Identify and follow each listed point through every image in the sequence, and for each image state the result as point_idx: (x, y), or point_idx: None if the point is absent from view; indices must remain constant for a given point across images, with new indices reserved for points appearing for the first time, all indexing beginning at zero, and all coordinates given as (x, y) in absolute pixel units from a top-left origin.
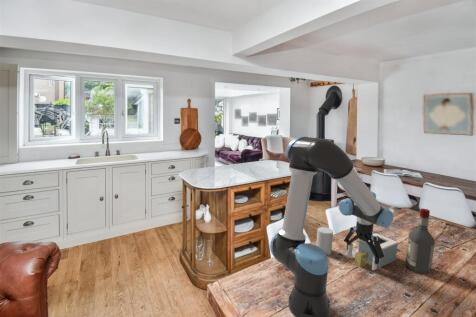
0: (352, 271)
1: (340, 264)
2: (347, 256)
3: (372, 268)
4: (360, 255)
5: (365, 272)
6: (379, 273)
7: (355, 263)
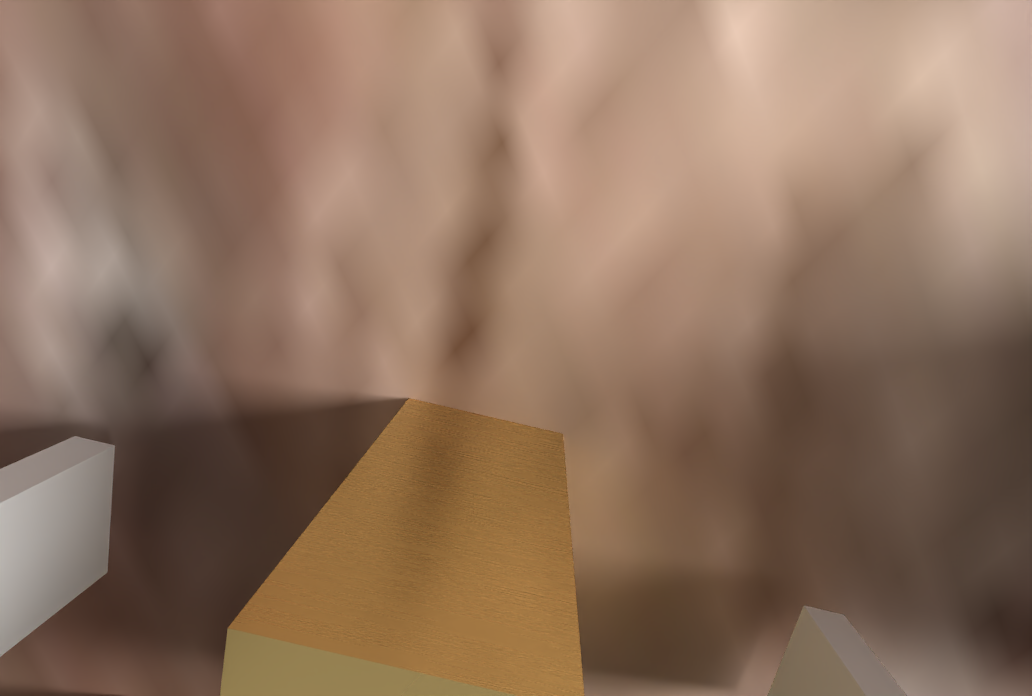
0: (443, 17)
1: (856, 117)
2: (841, 618)
3: (64, 456)
4: (271, 654)
5: (204, 258)
6: (5, 464)
7: (536, 440)
